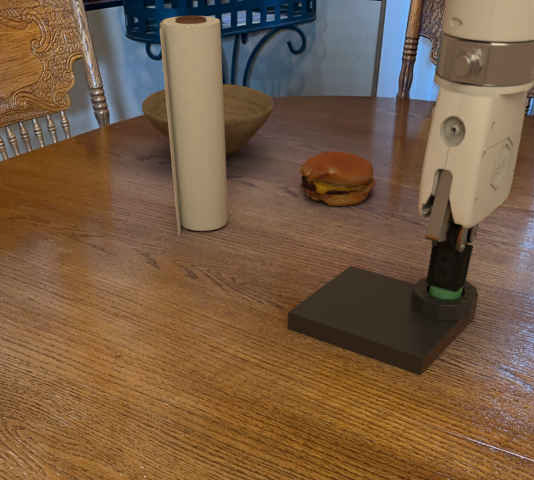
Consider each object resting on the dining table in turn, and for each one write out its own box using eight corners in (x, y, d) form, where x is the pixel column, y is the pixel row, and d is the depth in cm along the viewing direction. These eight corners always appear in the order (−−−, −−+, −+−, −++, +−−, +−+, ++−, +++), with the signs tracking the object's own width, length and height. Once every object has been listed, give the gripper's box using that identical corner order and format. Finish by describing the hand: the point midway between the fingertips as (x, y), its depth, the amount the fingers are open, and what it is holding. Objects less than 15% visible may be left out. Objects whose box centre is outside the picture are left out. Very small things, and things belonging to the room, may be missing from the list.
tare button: (465, 297, 67) (468, 282, 66) (452, 310, 65) (455, 295, 64) (436, 289, 68) (438, 274, 67) (422, 301, 66) (425, 286, 65)
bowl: (227, 188, 95) (224, 125, 89) (122, 164, 102) (114, 104, 97) (295, 151, 106) (296, 93, 101) (197, 132, 114) (193, 76, 108)
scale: (480, 319, 69) (487, 286, 66) (425, 378, 61) (431, 343, 59) (351, 280, 75) (354, 249, 72) (287, 329, 67) (287, 296, 65)
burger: (365, 180, 97) (368, 144, 94) (379, 206, 90) (383, 168, 87) (294, 183, 96) (295, 147, 93) (303, 209, 90) (305, 171, 86)
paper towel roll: (218, 210, 89) (208, 11, 75) (235, 228, 85) (228, 21, 71) (164, 219, 87) (143, 16, 73) (178, 237, 83) (159, 26, 69)
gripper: (498, 89, 47) (449, 330, 59) (566, 50, 56) (512, 266, 68) (397, 73, 50) (371, 305, 62) (478, 39, 59) (441, 248, 71)
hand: (445, 284), depth 65 cm, fingers closed
